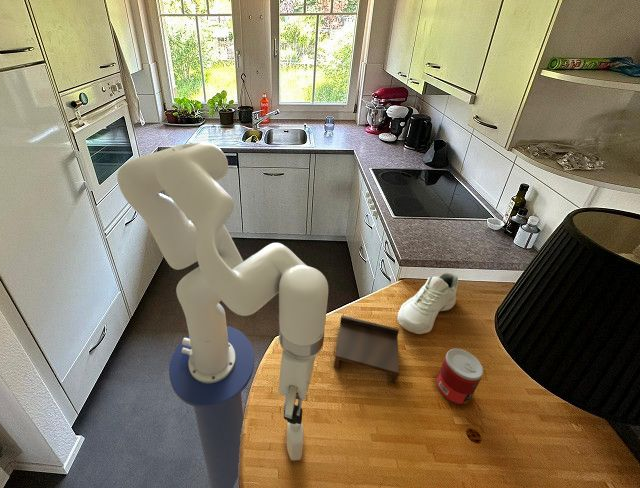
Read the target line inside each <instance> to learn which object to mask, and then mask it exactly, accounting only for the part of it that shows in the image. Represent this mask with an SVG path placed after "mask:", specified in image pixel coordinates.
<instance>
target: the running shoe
mask: <svg viewBox="0 0 640 488" xmlns="http://www.w3.org/2000/svg"><path fill="white" fill-rule="evenodd" d="M458 284H459V277H458V276H457V275H456V274H453V273H451V272H443V273H442V274H441V275H437V276H429V277H428V278H427V280H426V281H425V284H423V285H422V287H421V288H419V290H418V291H417V293H415V294H414V295H413V296H411V297H410V298H408V299H407V300H405V301H404V302H402V305H401V306H400V308H399V310H398V312H397V317H396V319H397V322H398V324H399V325H400V327H402V328H403V329H404V330H406V331H407V332H411V333H413V334H416V335H423V334H428V333H430V332H431V331H432V330H433V327H434V324H435V321H436V318H437V316H438V315H439V312H445V311H446V312H447V311H450V310H451V309H452V308H453V307H454V306H455V305H456V302H457V291H458Z"/></svg>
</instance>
